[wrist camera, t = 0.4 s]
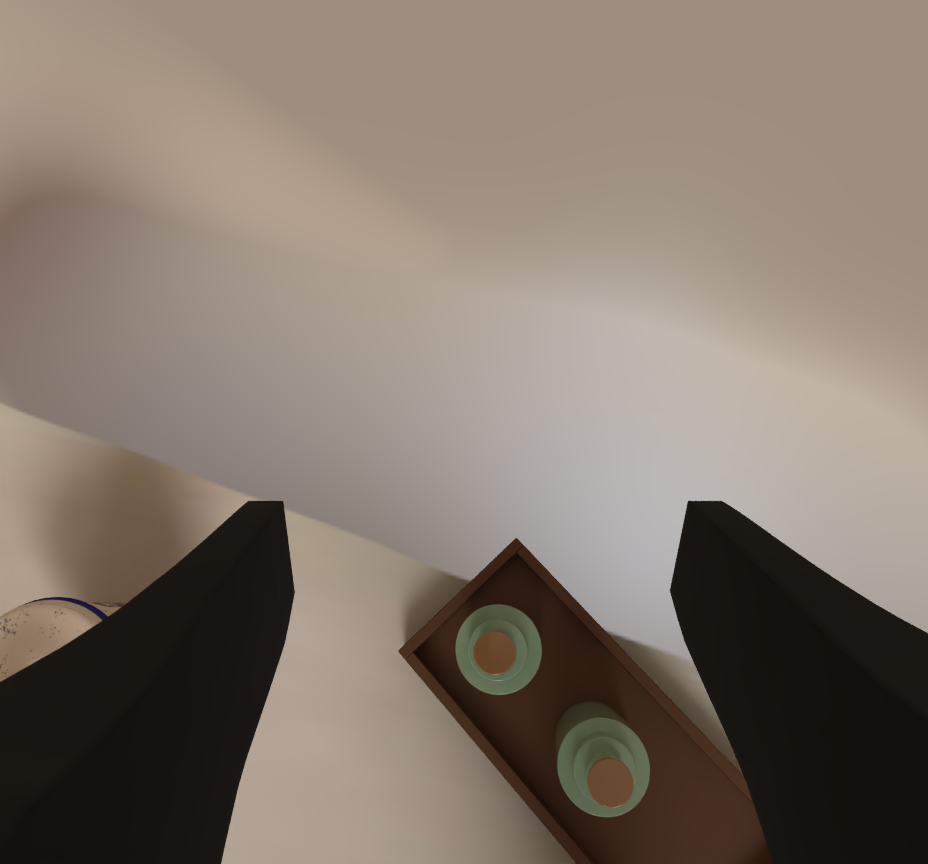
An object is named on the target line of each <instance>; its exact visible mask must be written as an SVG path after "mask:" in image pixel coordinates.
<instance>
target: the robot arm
mask: <svg viewBox="0 0 928 864" xmlns="http://www.w3.org/2000/svg"><path fill="white" fill-rule="evenodd" d="M670 592H671V596H672V600H673V603H674V607H675V611H676V614H677V618H678V621H679V625H680V628H681V631H682V634H683V637H684V641H685V643H686V645H687V648H688V650H689V653H690V655H691V657H692V659H693V662H694V664H695V666H696V668H697V671H698V673H699V675H700V678H701V680H702V682H703V684H704V686H705V689H706V691H707V693H708V695H709V698H710V700H711V702H712V704H713V706H714V709H715V711H716V713H717V715H718V717H719V720H720V722H721V724H722V726H723V729H724V731H725V733H726V735H727V737H728V740H729V742H730V744H731V746H732V748H733V751H734V753H735V755H736V758H737V760H738V763H739V765H740V768H741V770H742V773H743V775H744V778H745V780H746V783H747V786H748V789H749V792H750V795H751V798H752V801H753V804H754V807H755V810H756V813H757V816H758V819H759V822H760V825H761V828H762V831H763V834H764V837H765V840H766V843H767V847H768V850H769V853H770V856H771V860H772V863H773V864H928V633H926V632H924V631H923V630H921V629H919V628H917V627H915V626H913V625H911V624H910V623H908V622H906V621H904V620H902V619H900V618H898V617H897V616H895V615H893V614H892V613H890V612H888V611H886V610H885V609H883V608H881V607H879V606H877V605H876V604H874V603H872V602H871V601H869V600H868V599H866V598H865V597H863V596H862V595H860V594H858V593H857V592H855V591H854V590H852V589H850V588H849V587H847V586H845V585H844V584H842V583H841V582H839V581H838V580H836V579H835V578H833V577H831V576H830V575H829V574H827V573H826V572H824V571H823V570H821V569H820V568H818V567H817V566H815V565H814V564H812V563H811V562H809V561H808V560H806V559H805V558H803V557H802V556H801V555H799V554H798V553H796V552H795V551H794V550H792V549H791V548H789V547H788V546H786V545H785V544H784V543H782V542H781V541H779V540H778V539H777V538H775V537H774V536H772V535H771V534H770V533H768V532H767V531H765V530H764V529H763V528H761V527H760V526H758V525H757V524H756V523H754V522H753V521H751V520H750V519H748V518H747V517H746V516H744V515H743V514H741V513H740V512H738V511H737V510H735V509H734V508H732V507H731V506H729V505H727V504H726V503H724V502H722V501H688V504H687V509H686V514H685V519H684V524H683V529H682V534H681V539H680V544H679V548H678V554H677V558H676V563H675V568H674V573H673V578H672V583H671V588H670ZM294 593H295V591H294V583H293V575H292V567H291V560H290V552H289V544H288V536H287V528H286V520H285V512H284V504H283V501H248V502H247V503H245V504H244V505H243V506H242V507H241V508H240V509H238V510H237V511H236V512H235V513H234V514H233V515H232V516H231V517H229V518H228V519H227V520H226V521H225V522H224V523H223V524H222V525H221V526H219V527H218V528H217V529H216V530H215V531H214V532H213V533H212V534H211V535H209V536H208V537H207V538H206V539H205V540H204V541H203V542H202V543H200V544H199V545H198V546H197V547H196V548H195V549H193V550H192V551H191V552H190V553H189V554H188V555H187V556H185V557H184V558H183V559H182V560H181V561H180V562H178V563H177V564H176V565H175V566H174V567H173V568H171V569H170V570H169V571H167V572H166V573H165V574H164V575H162V576H161V577H160V578H158V579H157V580H156V581H155V582H153V583H152V584H151V585H150V586H148V587H147V588H146V589H144V590H143V591H142V592H141V593H139V594H138V595H137V596H136V597H134V598H133V599H132V600H130V601H129V602H128V603H126V604H125V605H124V606H122V607H121V608H120V609H118V610H117V611H115V612H114V613H112V614H111V615H110V616H108V617H107V618H105V619H104V620H102V621H101V622H99V623H98V624H96V625H95V626H93V627H92V628H90V629H89V630H87V631H86V632H84V633H83V634H81V635H80V636H78V637H76V638H75V639H73V640H72V641H70V642H69V643H67V644H65V645H64V646H62V647H61V648H59V649H57V650H55V651H54V652H52V653H50V654H48V655H47V656H45V657H43V658H41V659H40V660H38V661H36V662H34V663H32V664H31V665H29V666H27V667H25V668H24V669H22V670H20V671H18V672H17V673H15V674H13V675H11V676H10V677H8V678H6V679H4V680H3V681H1V682H0V864H221V861H222V856H223V852H224V847H225V843H226V838H227V834H228V829H229V825H230V821H231V816H232V812H233V807H234V803H235V799H236V794H237V790H238V786H239V782H240V779H241V775H242V772H243V769H244V765H245V762H246V758H247V755H248V752H249V749H250V746H251V743H252V740H253V737H254V735H255V732H256V729H257V726H258V723H259V720H260V717H261V714H262V711H263V708H264V705H265V702H266V699H267V696H268V693H269V690H270V687H271V684H272V681H273V678H274V675H275V672H276V669H277V666H278V663H279V660H280V657H281V653H282V650H283V647H284V644H285V640H286V635H287V630H288V625H289V620H290V615H291V609H292V604H293V598H294Z"/></svg>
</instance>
